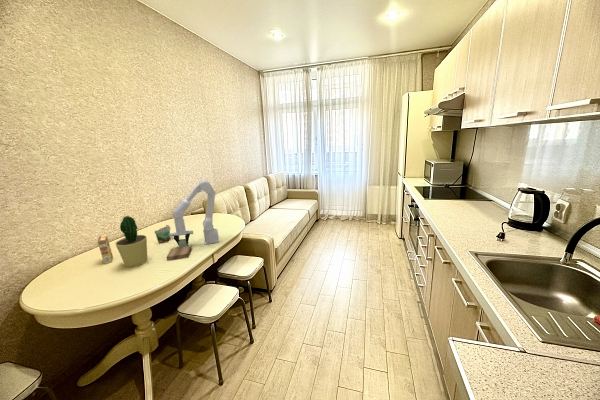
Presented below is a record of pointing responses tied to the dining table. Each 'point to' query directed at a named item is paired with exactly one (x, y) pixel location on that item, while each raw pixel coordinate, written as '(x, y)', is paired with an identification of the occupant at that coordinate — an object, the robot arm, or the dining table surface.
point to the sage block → (182, 243)
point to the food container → (163, 234)
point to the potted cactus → (132, 244)
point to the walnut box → (179, 253)
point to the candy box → (105, 249)
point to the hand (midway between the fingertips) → (183, 245)
